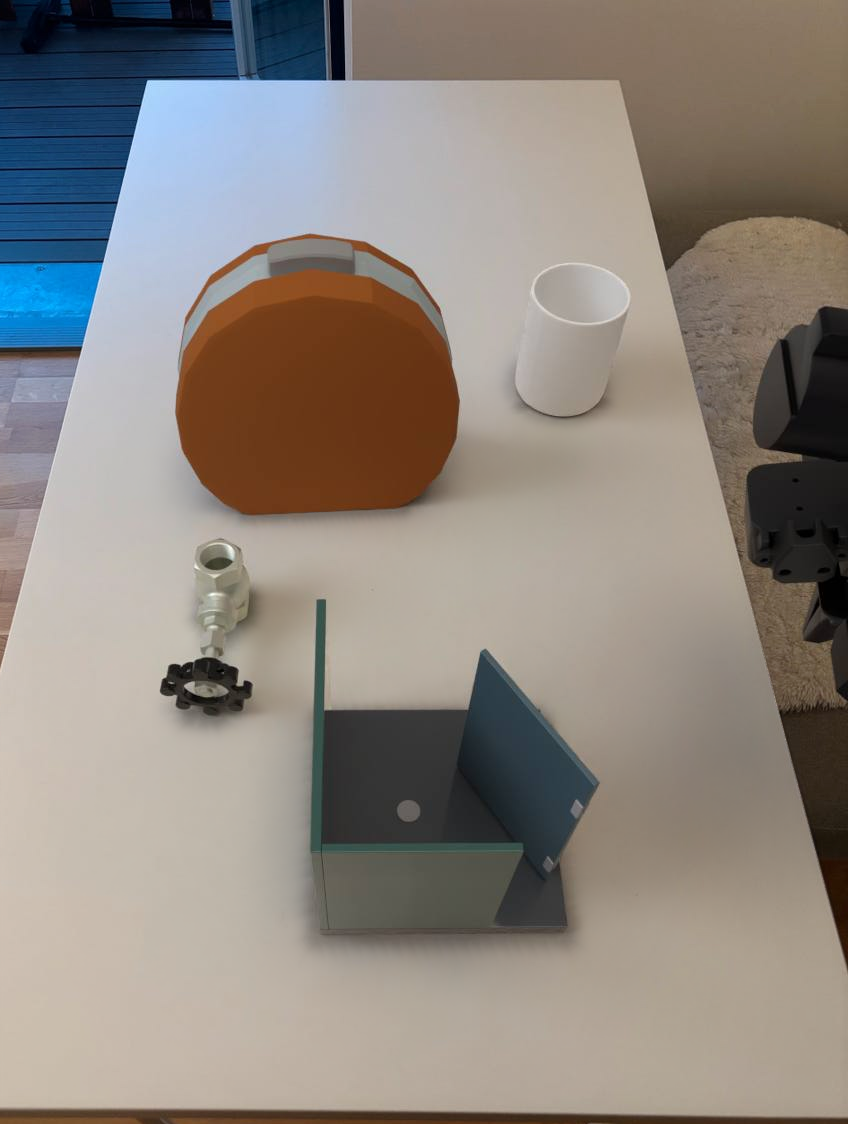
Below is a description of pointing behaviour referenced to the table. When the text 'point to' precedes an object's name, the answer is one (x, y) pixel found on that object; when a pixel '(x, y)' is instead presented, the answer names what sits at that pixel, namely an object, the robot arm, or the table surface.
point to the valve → (214, 631)
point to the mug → (570, 337)
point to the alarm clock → (315, 380)
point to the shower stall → (411, 828)
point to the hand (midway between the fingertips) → (810, 637)
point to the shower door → (522, 767)
